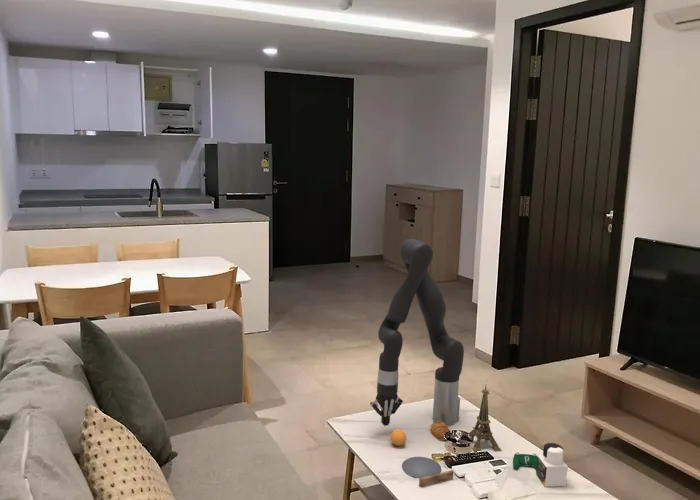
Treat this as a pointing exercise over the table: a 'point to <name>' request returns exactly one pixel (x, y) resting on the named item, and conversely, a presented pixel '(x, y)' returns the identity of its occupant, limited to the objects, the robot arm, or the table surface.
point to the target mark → (420, 467)
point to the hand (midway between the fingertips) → (385, 424)
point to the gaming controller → (524, 460)
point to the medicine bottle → (552, 466)
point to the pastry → (439, 429)
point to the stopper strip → (435, 478)
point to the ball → (398, 437)
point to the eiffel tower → (483, 421)
